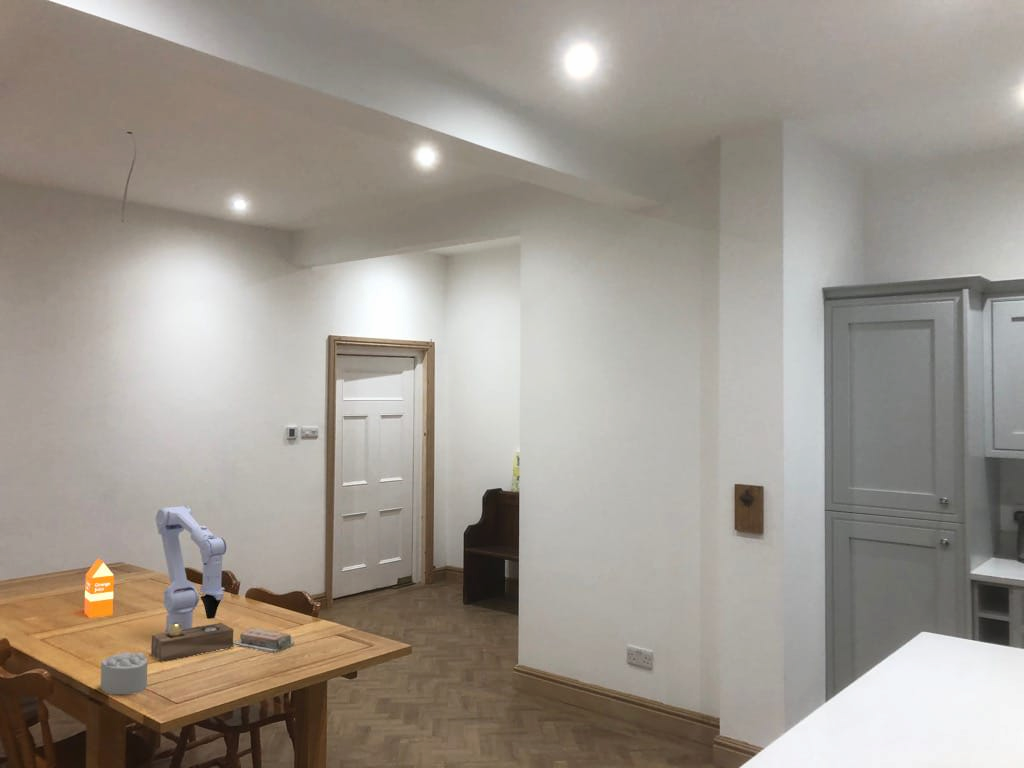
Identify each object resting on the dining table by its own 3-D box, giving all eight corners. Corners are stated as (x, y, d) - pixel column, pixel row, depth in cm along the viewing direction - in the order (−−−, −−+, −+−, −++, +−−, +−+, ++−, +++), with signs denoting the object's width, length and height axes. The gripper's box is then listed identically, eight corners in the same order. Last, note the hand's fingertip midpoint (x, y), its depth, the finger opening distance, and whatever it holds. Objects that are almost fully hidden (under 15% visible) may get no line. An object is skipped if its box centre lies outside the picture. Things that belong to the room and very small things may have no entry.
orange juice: (89, 618, 280) (91, 563, 281) (83, 613, 287) (85, 559, 287) (113, 614, 285) (115, 560, 286) (106, 609, 292) (108, 556, 293)
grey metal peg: (202, 646, 248) (202, 628, 248) (213, 644, 251) (213, 626, 251) (206, 649, 246) (207, 631, 246) (217, 647, 248) (218, 629, 248)
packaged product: (296, 631, 253) (274, 639, 244) (295, 646, 253) (274, 655, 244) (254, 624, 260) (232, 631, 251) (254, 638, 260) (232, 646, 251)
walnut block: (151, 654, 241) (151, 634, 241) (220, 640, 256) (221, 622, 256) (161, 662, 233) (162, 642, 234) (232, 648, 248) (233, 629, 248)
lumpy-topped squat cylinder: (134, 677, 220) (135, 646, 220) (155, 688, 212) (156, 656, 212) (95, 686, 212) (97, 655, 213) (116, 698, 204) (117, 665, 204)
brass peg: (167, 642, 241) (167, 623, 241) (179, 640, 243) (179, 621, 244) (171, 645, 238) (171, 626, 239) (183, 642, 241) (183, 624, 241)
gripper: (233, 578, 246) (231, 620, 246) (215, 570, 257) (214, 611, 257) (211, 581, 242) (209, 624, 241) (194, 573, 252) (193, 614, 252)
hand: (210, 618), depth 249 cm, fingers closed
